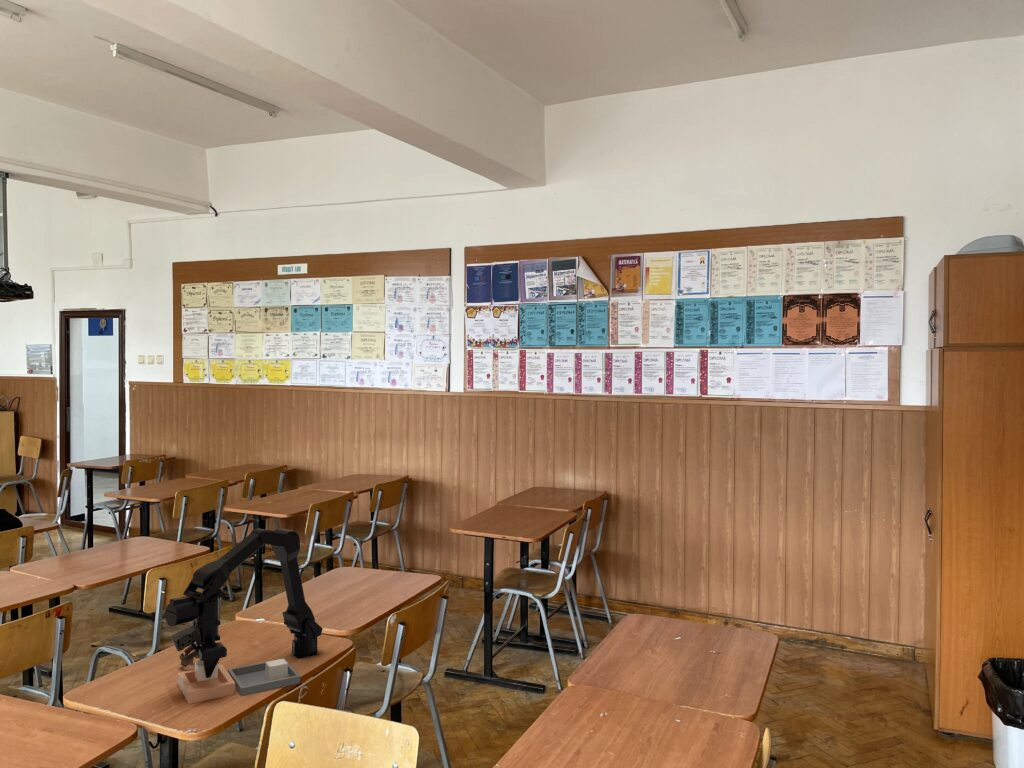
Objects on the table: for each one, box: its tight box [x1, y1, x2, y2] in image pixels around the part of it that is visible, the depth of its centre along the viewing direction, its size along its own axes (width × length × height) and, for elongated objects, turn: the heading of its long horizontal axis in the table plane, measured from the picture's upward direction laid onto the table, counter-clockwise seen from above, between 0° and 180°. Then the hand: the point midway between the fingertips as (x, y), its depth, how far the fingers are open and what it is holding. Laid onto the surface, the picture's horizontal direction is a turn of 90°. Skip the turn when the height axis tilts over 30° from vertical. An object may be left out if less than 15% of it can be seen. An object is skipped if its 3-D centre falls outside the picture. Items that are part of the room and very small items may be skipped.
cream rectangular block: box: [194, 659, 219, 682], centre depth 201 cm, size 5×4×4 cm
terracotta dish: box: [177, 664, 236, 705], centre depth 201 cm, size 11×14×4 cm
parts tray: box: [227, 657, 301, 697], centre depth 207 cm, size 16×15×3 cm
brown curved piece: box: [178, 643, 220, 667], centre depth 217 cm, size 12×10×8 cm
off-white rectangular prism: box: [264, 658, 289, 681], centre depth 209 cm, size 5×4×4 cm
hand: (206, 674), depth 201 cm, fingers closed on cream rectangular block, 4 cm apart
